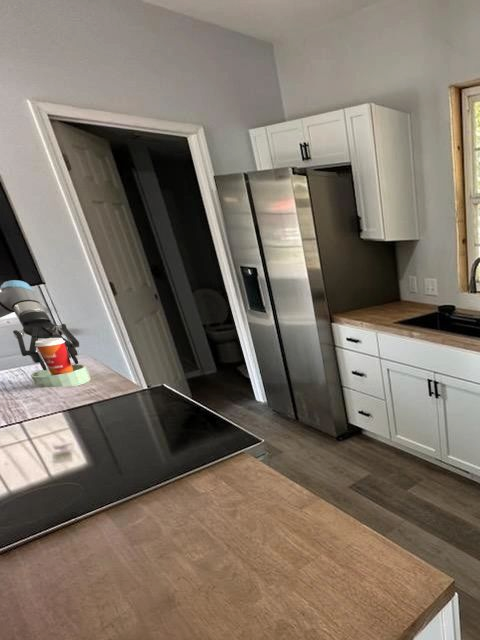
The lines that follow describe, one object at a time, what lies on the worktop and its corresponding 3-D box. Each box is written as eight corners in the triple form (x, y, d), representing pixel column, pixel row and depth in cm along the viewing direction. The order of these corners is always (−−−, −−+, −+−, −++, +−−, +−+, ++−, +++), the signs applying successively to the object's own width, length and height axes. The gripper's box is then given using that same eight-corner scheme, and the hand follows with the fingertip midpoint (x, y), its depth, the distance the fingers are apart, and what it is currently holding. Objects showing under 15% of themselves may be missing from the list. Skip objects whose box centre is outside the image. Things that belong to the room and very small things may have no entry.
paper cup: (43, 378, 152) (27, 342, 147) (68, 371, 159) (54, 336, 154) (59, 380, 151) (43, 343, 146) (83, 373, 158) (69, 338, 153)
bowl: (34, 385, 155) (28, 371, 153) (86, 374, 166) (81, 361, 164) (40, 394, 147) (33, 379, 145) (94, 382, 158) (88, 368, 156)
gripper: (71, 318, 164) (98, 363, 162) (-7, 328, 149) (21, 378, 146) (70, 306, 160) (97, 352, 157) (-12, 315, 144) (17, 367, 141)
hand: (61, 365), depth 151 cm, fingers closed on paper cup, 8 cm apart
